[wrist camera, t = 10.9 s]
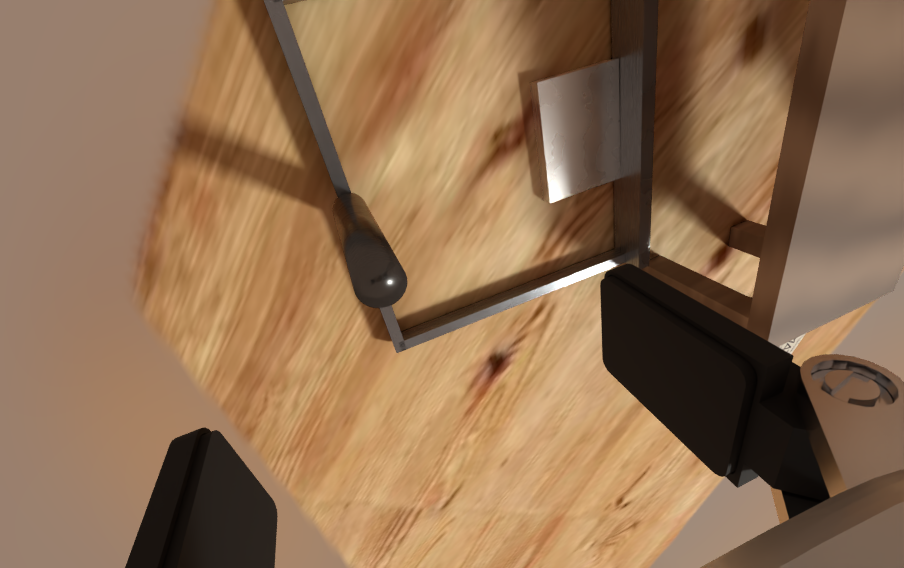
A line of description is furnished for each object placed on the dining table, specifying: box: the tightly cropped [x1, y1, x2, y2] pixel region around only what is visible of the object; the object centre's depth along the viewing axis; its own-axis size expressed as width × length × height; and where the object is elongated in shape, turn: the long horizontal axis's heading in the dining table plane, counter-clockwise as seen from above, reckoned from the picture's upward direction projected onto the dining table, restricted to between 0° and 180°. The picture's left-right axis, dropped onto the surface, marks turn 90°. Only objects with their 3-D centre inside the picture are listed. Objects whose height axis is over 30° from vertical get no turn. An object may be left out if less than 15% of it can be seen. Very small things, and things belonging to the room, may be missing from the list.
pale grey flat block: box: [530, 58, 620, 203], centre depth 28 cm, size 8×6×2 cm
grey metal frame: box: [264, 0, 658, 353], centre depth 22 cm, size 22×22×12 cm
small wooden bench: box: [642, 0, 904, 347], centre depth 26 cm, size 30×12×12 cm, turn 13°
